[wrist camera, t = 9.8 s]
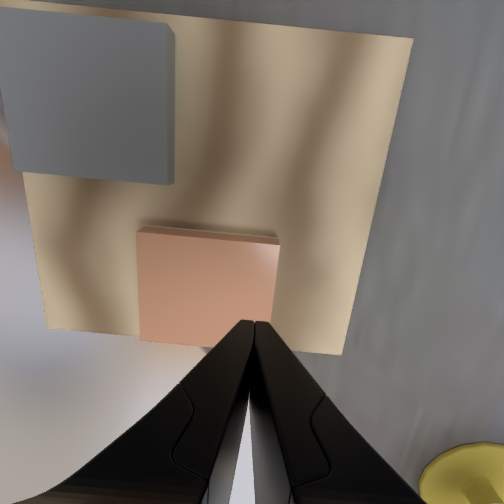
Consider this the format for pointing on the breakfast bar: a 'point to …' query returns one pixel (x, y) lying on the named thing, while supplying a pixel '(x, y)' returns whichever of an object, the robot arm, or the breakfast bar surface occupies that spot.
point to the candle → (465, 476)
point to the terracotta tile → (202, 283)
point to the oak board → (237, 173)
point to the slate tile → (89, 95)
